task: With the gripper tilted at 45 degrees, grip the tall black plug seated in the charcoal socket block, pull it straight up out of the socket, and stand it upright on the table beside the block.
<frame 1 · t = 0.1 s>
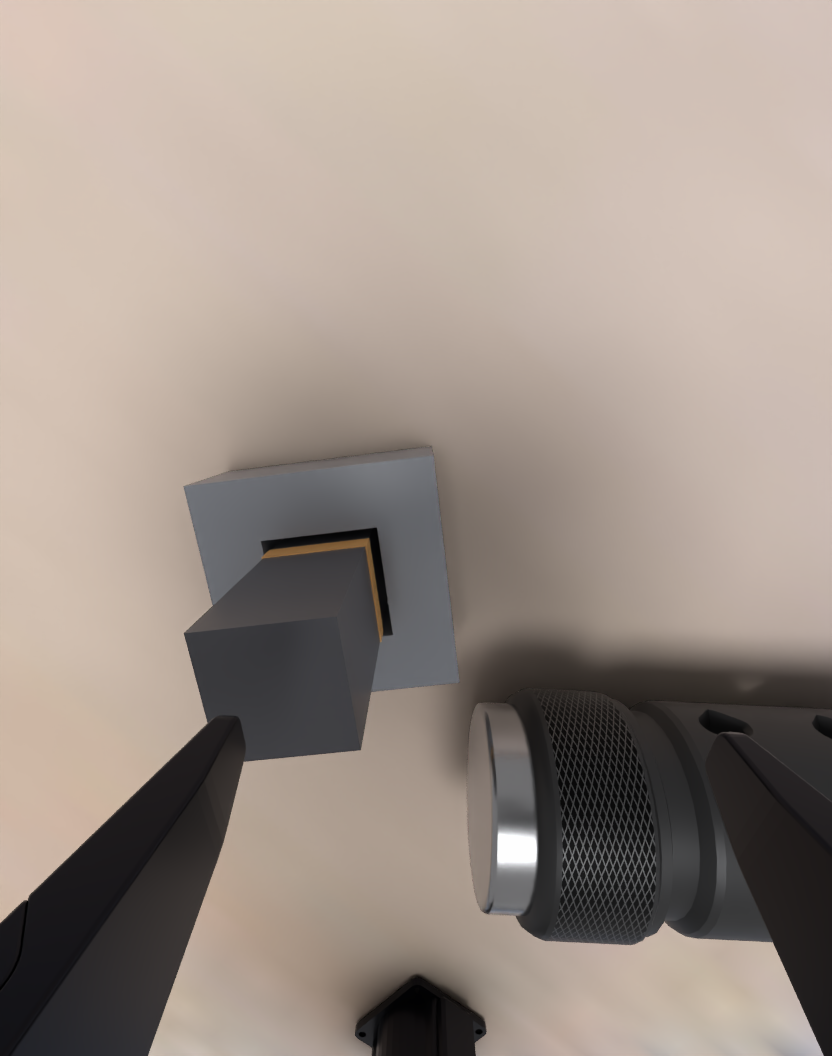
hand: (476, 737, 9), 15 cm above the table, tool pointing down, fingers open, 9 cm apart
black cylindrical piece: (712, 728, 27), on the table
socket block: (345, 556, 24), on the table
plug: (342, 562, 23), point 1 cm above the table, touching socket block
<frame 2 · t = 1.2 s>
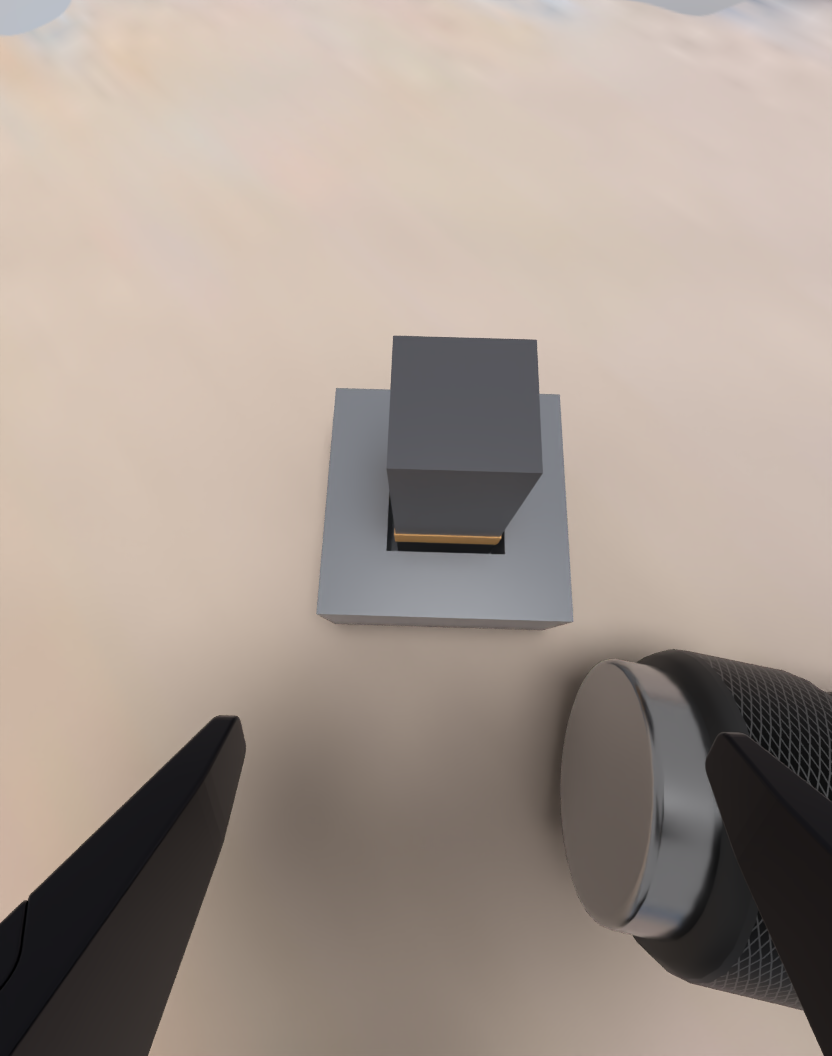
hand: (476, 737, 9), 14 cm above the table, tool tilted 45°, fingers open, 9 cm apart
socket block: (440, 526, 24), on the table
plug: (441, 521, 23), point 1 cm above the table, touching socket block
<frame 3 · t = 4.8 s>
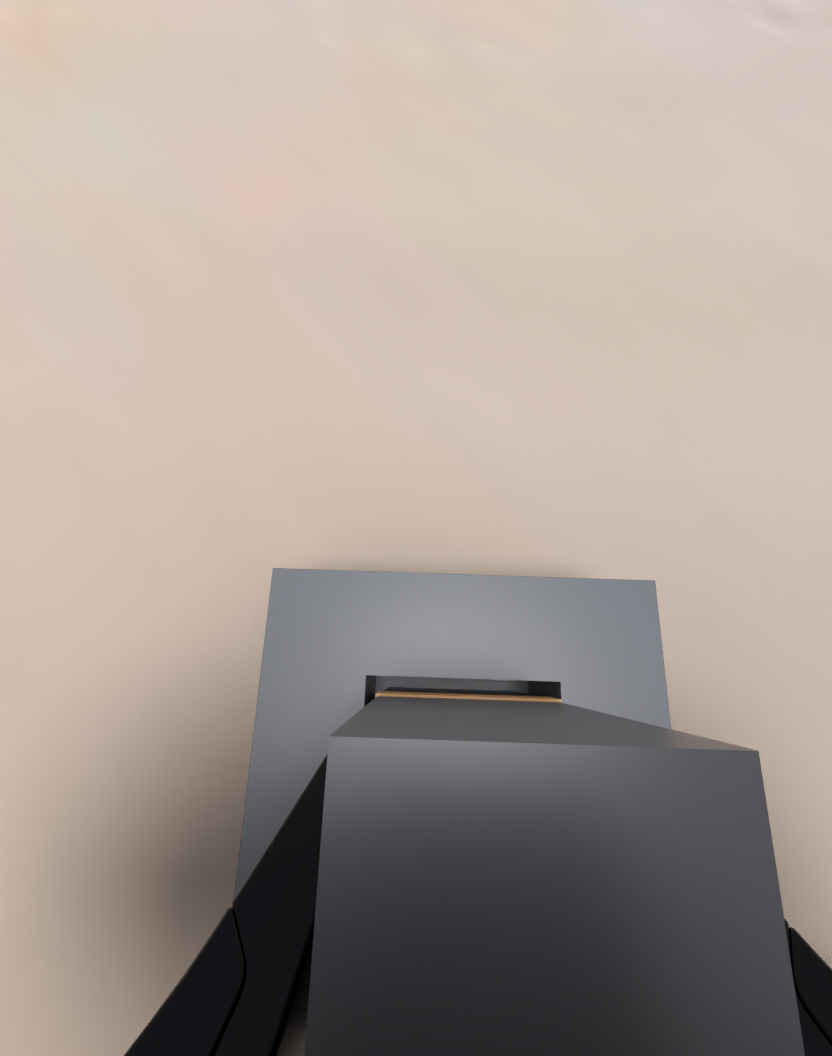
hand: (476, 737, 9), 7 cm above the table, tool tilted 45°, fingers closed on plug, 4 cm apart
socket block: (448, 752, 15), on the table
plug: (451, 758, 14), point 1 cm above the table, touching gripper, socket block
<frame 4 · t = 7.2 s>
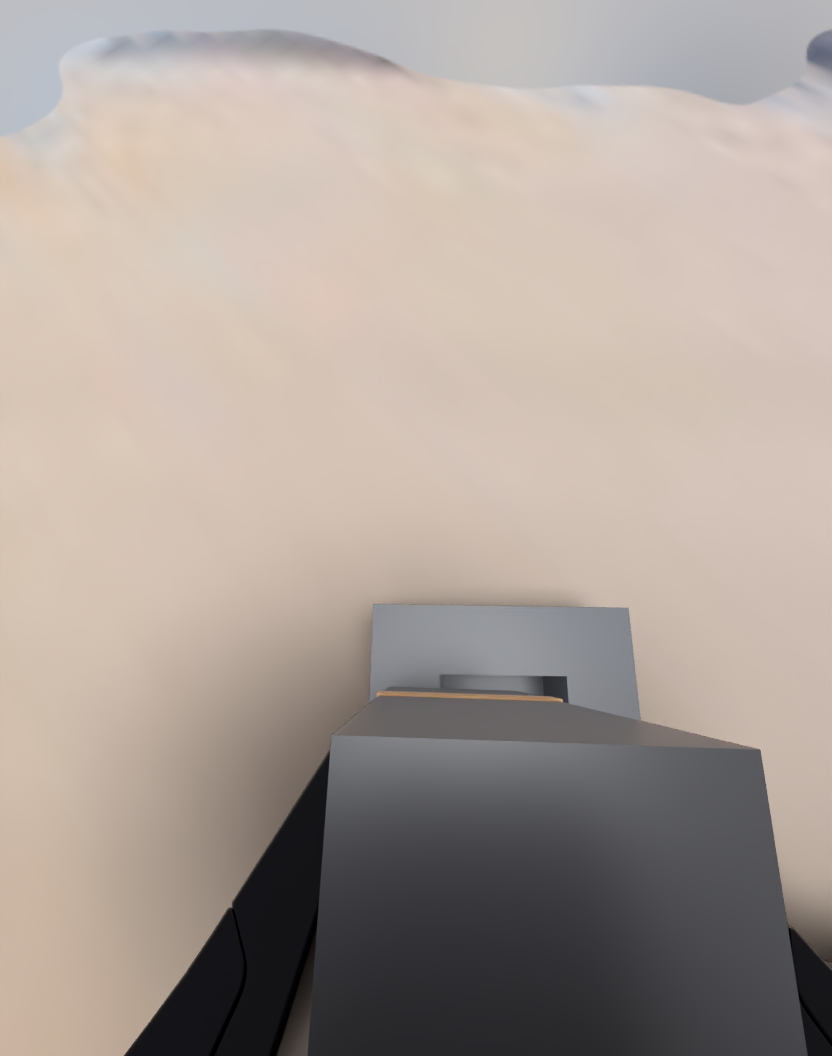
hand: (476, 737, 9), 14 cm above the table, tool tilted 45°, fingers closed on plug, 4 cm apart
socket block: (487, 728, 22), on the table
plug: (452, 758, 14), point 7 cm above the table, touching gripper
when the fingers open (7 cm above the table, at t = 9.8 s): plug drops 1 cm, on the table.
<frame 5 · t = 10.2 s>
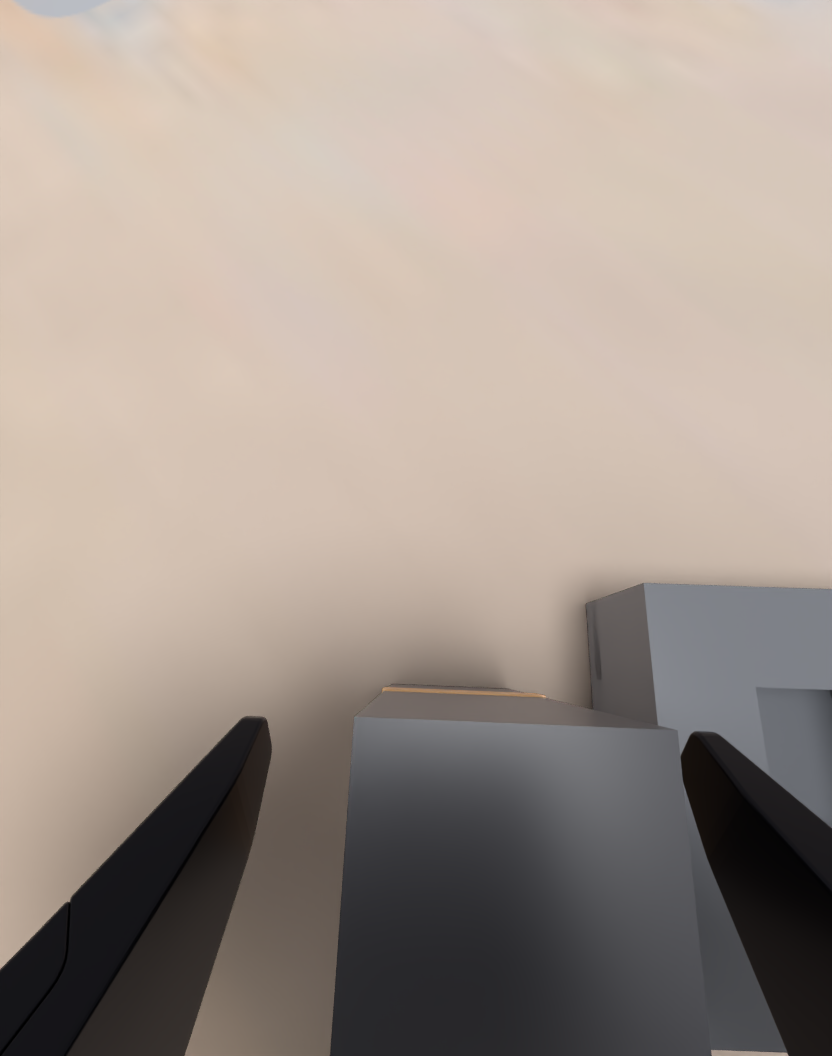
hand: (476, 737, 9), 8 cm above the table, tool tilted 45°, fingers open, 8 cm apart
socket block: (746, 759, 16), on the table
plug: (448, 749, 16), on the table
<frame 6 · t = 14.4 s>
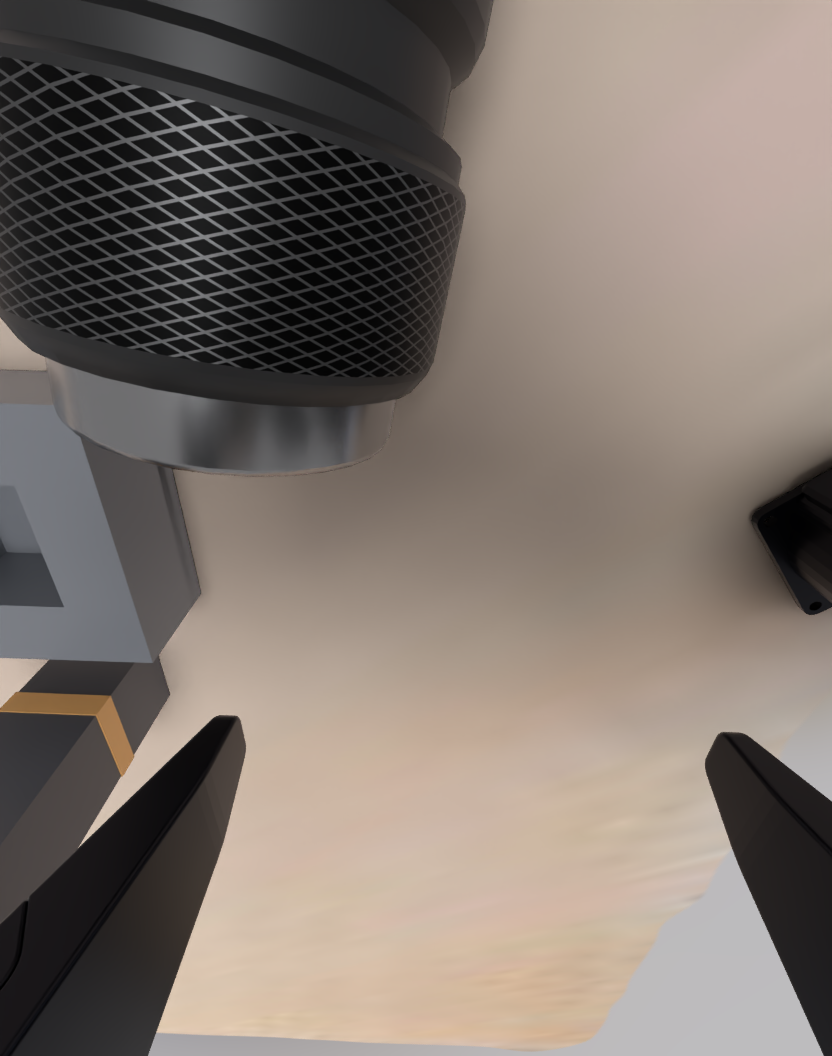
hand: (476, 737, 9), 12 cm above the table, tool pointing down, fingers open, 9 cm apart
socket block: (60, 493, 20), on the table
plug: (123, 665, 25), on the table
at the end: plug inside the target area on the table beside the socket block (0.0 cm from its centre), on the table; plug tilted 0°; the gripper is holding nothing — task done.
